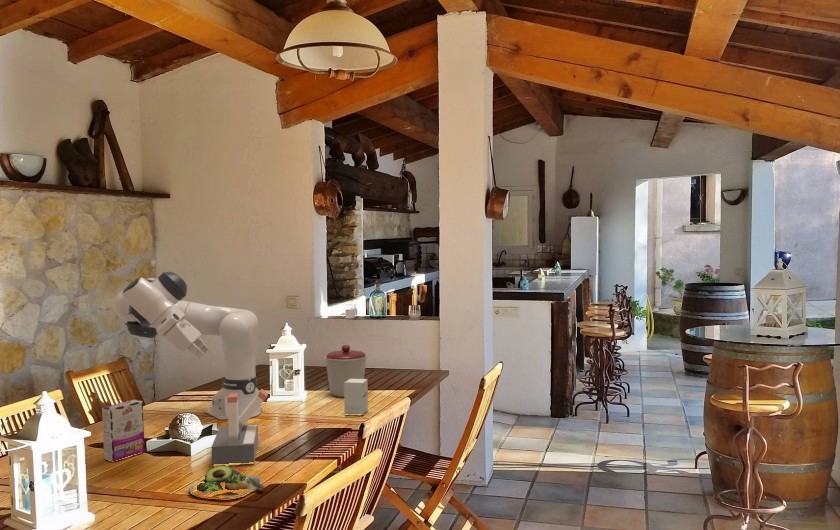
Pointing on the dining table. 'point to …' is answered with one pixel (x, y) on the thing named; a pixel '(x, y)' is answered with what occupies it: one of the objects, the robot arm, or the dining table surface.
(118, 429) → the candy bar box
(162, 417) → the dining table surface
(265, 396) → the lever
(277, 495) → the dining table surface
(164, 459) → the dining table surface
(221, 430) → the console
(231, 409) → the lever
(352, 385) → the supplement box
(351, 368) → the canister
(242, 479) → the salad plate
